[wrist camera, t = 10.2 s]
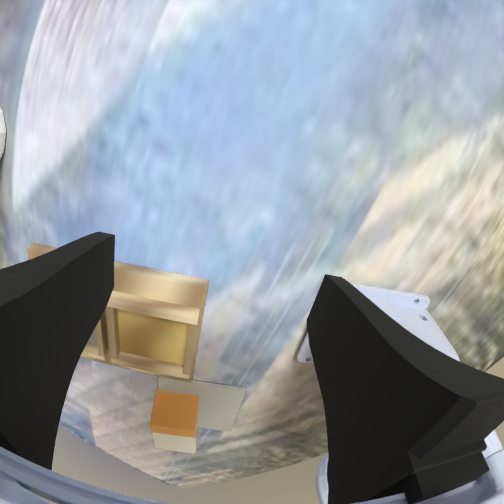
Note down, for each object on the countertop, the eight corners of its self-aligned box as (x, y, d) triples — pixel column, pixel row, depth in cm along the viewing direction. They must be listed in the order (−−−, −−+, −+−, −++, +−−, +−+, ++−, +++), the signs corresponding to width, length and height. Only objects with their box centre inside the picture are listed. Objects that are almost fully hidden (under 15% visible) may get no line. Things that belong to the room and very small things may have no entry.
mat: (246, 387, 27) (246, 390, 26) (230, 428, 30) (230, 431, 30) (159, 373, 26) (158, 377, 25) (158, 417, 29) (157, 420, 29)
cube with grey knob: (195, 430, 23) (195, 454, 25) (198, 395, 26) (198, 422, 29) (149, 424, 23) (155, 449, 25) (156, 390, 26) (161, 418, 28)
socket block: (209, 279, 21) (206, 298, 19) (192, 373, 26) (190, 392, 24) (33, 243, 19) (19, 256, 17) (50, 338, 24) (41, 353, 22)
